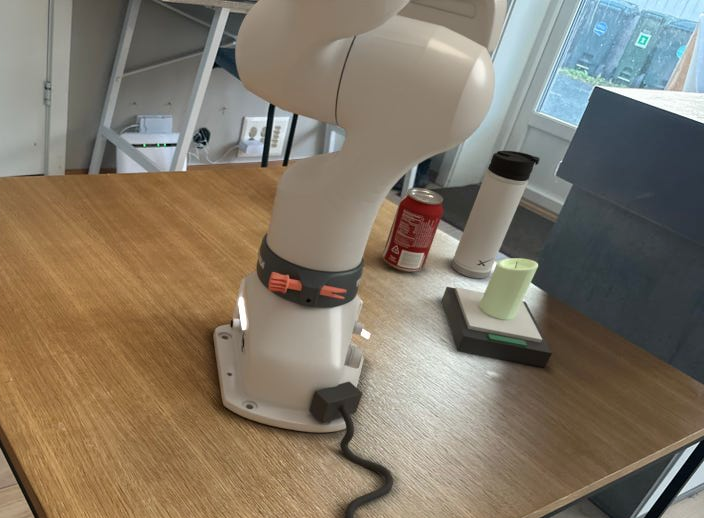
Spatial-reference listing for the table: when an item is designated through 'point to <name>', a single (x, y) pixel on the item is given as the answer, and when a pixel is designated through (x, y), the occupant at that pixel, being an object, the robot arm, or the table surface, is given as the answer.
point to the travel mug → (493, 212)
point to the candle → (508, 287)
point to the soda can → (413, 230)
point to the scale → (494, 330)
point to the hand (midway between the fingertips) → (406, 73)
